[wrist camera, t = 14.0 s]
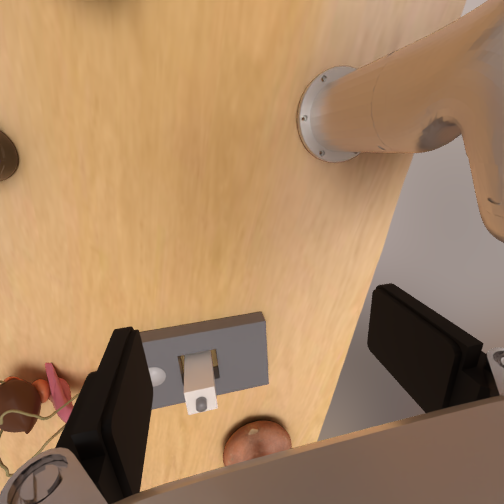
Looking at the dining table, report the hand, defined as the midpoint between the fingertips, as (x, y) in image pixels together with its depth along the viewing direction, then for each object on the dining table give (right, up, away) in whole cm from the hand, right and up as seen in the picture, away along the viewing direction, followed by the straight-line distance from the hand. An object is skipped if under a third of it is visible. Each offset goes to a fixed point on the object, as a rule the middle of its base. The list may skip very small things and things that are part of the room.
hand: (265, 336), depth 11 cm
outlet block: (-10, -15, +40) cm, 44 cm away
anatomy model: (-30, -18, +36) cm, 50 cm away
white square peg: (-10, -15, +40) cm, 44 cm away
